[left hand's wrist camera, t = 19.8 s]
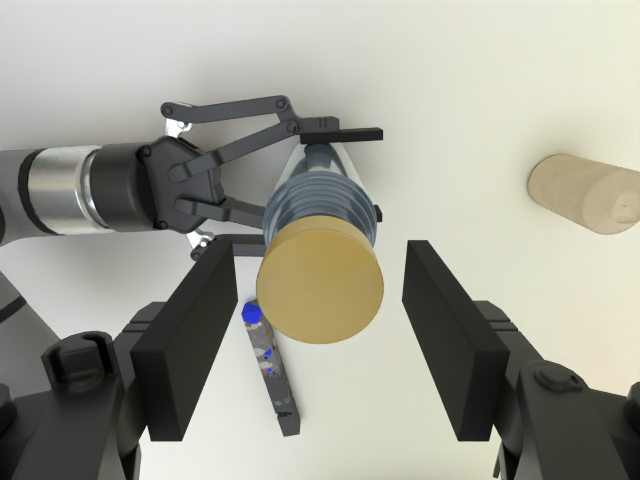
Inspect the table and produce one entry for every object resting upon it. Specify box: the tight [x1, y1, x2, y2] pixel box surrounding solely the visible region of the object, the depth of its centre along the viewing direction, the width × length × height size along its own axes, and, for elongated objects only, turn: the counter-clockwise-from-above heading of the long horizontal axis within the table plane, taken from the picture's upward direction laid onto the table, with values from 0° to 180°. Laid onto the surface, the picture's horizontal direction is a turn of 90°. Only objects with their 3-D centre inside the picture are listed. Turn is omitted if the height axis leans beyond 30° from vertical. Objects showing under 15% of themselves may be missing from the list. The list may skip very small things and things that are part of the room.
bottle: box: [263, 142, 377, 248], centre depth 25 cm, size 6×6×25 cm
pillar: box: [242, 300, 300, 437], centre depth 45 cm, size 2×2×20 cm
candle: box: [528, 155, 640, 235], centre depth 33 cm, size 6×6×10 cm
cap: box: [256, 216, 384, 344], centre depth 14 cm, size 5×5×2 cm
